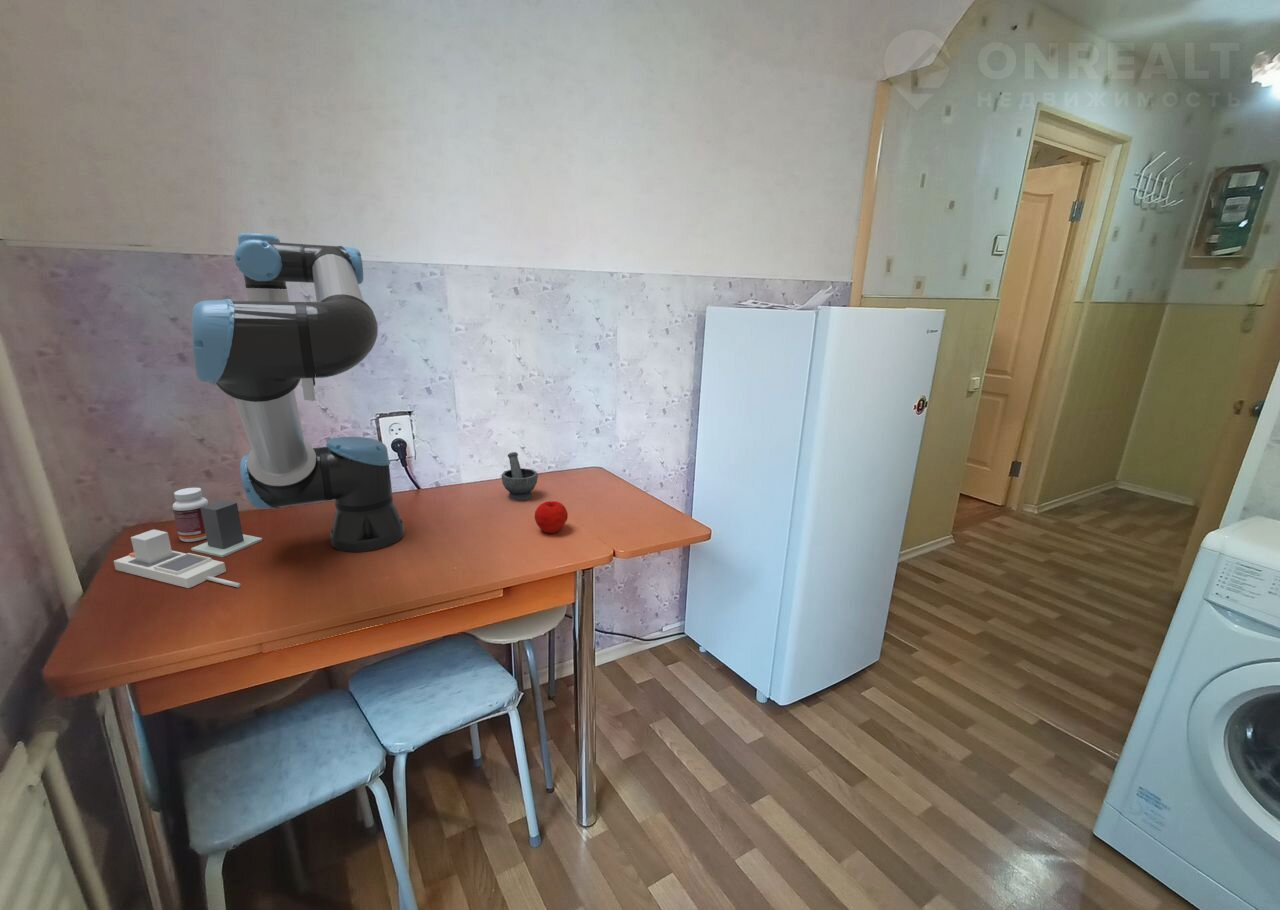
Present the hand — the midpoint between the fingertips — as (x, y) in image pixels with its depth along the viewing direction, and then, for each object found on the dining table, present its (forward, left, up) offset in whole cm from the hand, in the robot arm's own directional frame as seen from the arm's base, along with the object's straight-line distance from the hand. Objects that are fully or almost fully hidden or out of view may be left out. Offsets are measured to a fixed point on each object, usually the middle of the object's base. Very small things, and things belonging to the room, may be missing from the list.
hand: (284, 405), depth 125 cm
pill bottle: (+13, +15, -29) cm, 35 cm away
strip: (-2, +28, -29) cm, 40 cm away
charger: (+3, +16, -28) cm, 33 cm away
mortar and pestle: (-40, -35, -29) cm, 60 cm away
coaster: (+3, +16, -29) cm, 33 cm away
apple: (-59, -17, -29) cm, 68 cm away
